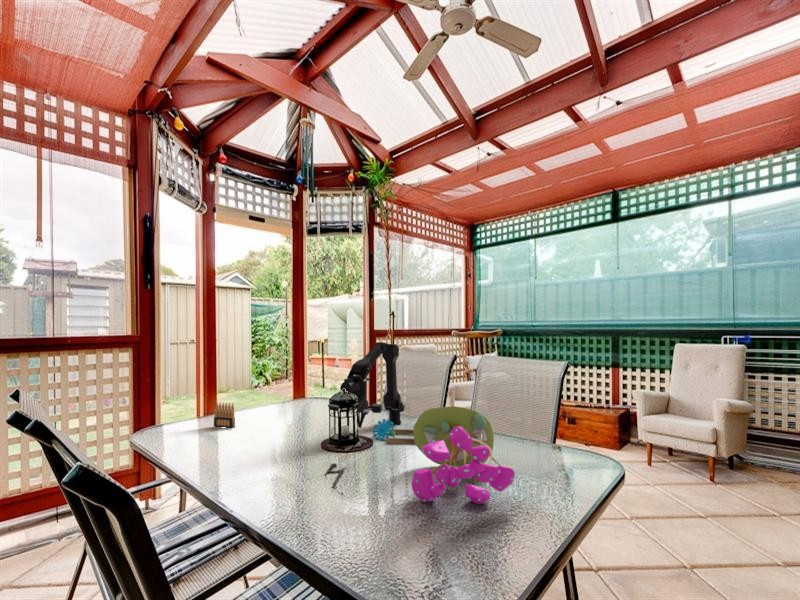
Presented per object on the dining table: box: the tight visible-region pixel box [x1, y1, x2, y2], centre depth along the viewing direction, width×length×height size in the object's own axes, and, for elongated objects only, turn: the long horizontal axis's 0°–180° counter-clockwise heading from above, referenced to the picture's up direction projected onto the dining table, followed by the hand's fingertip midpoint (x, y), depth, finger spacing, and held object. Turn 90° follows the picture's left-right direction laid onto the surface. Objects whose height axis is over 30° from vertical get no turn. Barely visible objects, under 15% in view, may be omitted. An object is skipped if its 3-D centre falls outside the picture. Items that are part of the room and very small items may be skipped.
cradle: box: [386, 428, 416, 445], centre depth 162 cm, size 14×20×3 cm
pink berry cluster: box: [410, 406, 516, 505], centre depth 113 cm, size 30×28×35 cm
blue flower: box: [372, 418, 396, 441], centre depth 164 cm, size 11×6×10 cm
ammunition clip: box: [213, 401, 236, 429], centre depth 179 cm, size 11×2×12 cm, turn 75°
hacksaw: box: [324, 463, 346, 496], centre depth 119 cm, size 24×10×2 cm, turn 173°
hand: (360, 428), depth 163 cm, fingers closed
